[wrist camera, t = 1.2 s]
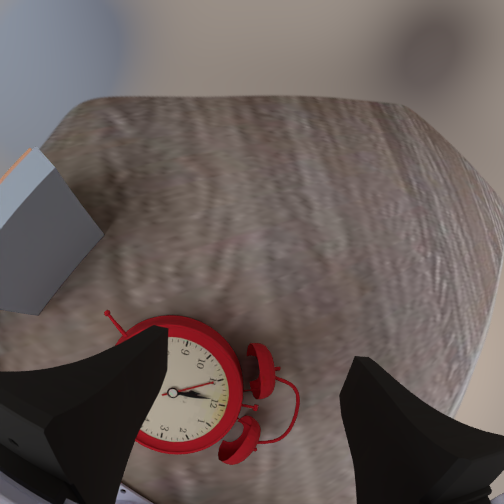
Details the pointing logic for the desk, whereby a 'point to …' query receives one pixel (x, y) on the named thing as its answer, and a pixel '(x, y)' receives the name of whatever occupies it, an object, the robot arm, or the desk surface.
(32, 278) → the book row
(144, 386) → the robot arm
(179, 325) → the alarm clock
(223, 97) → the desk surface
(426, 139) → the desk surface
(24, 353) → the desk surface
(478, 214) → the desk surface
